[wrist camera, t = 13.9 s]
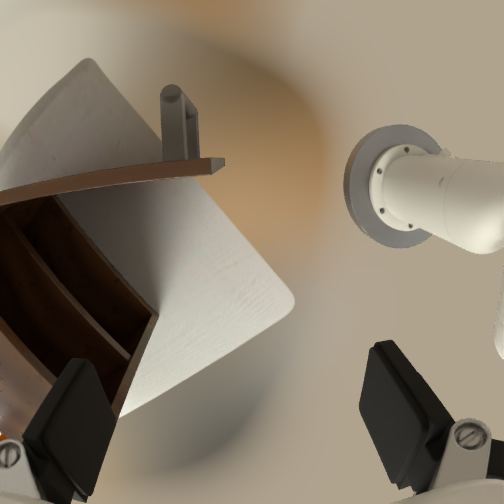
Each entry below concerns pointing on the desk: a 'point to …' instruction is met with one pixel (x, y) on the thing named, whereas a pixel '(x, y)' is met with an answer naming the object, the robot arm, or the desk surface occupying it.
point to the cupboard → (61, 311)
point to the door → (173, 166)
